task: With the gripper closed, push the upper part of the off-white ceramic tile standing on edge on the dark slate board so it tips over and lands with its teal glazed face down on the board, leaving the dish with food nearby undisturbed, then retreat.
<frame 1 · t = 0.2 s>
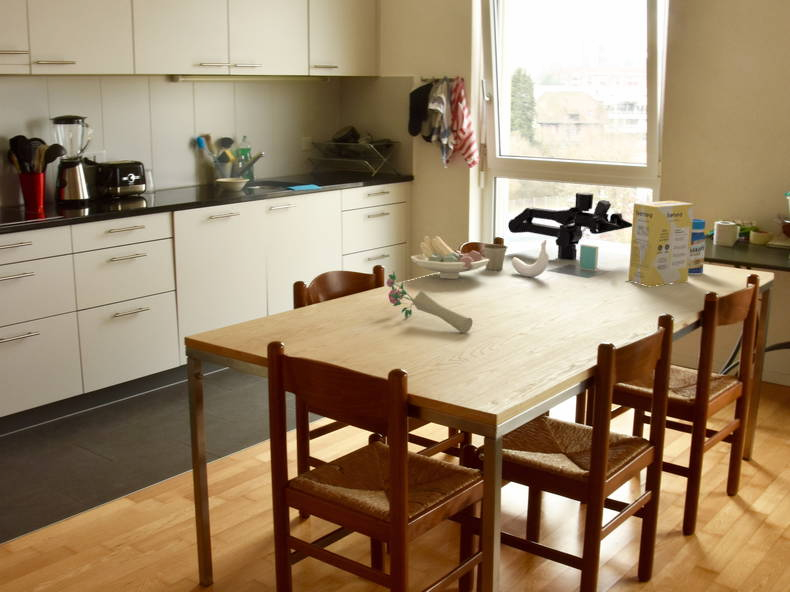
hand: (625, 226, 331), 16 cm above the table, tool horizontal, fingers open, 9 cm apart
beverage bottle: (691, 273, 329), on the table
flower pot: (494, 269, 335), on the table
pasta box: (657, 282, 315), on the table
banana: (528, 276, 322), on the table
tile: (588, 269, 330), point 1 cm above the table, touching slate board
flower vase: (424, 322, 260), on the table
dish with food: (449, 278, 319), on the table
slate board: (578, 273, 328), on the table
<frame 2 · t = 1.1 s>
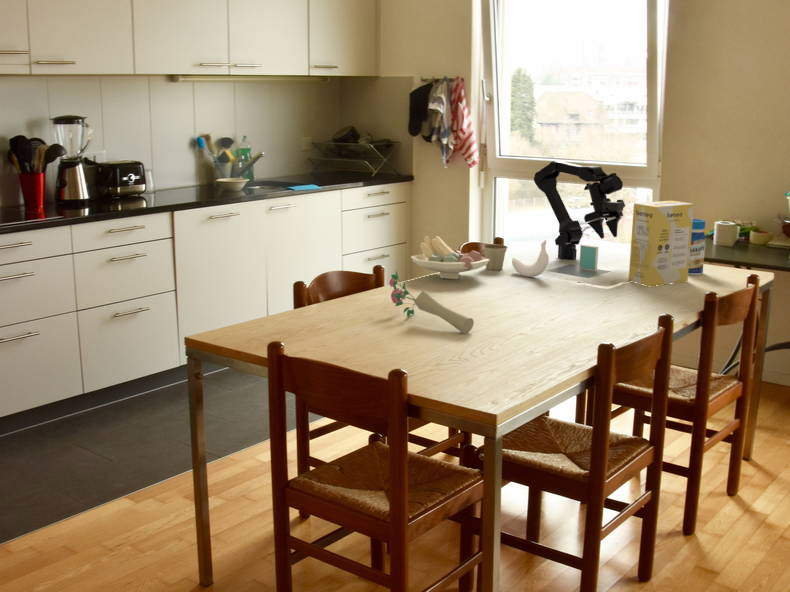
hand: (609, 237, 333), 12 cm above the table, tool tilted 25°, fingers open, 9 cm apart
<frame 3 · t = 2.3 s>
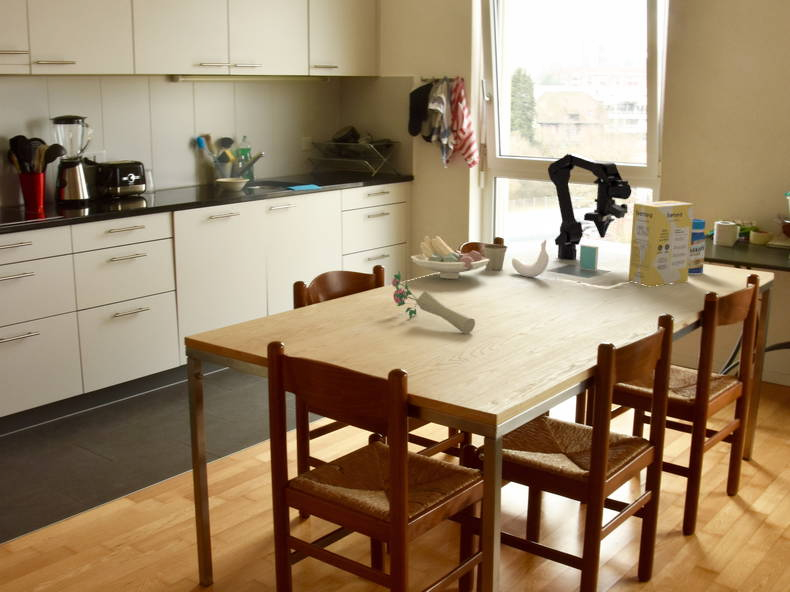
hand: (602, 237, 334), 12 cm above the table, tool pointing down, fingers closed
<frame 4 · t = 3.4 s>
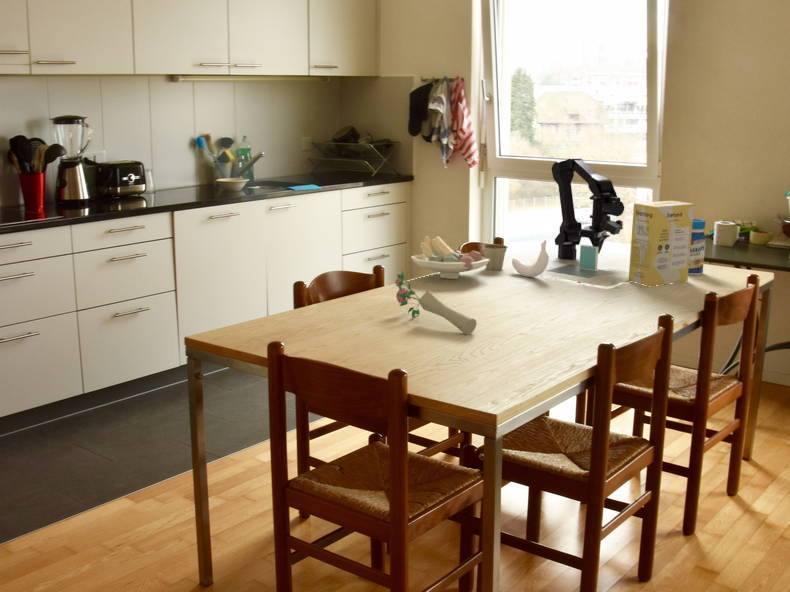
hand: (597, 253, 334), 6 cm above the table, tool pointing down, fingers closed
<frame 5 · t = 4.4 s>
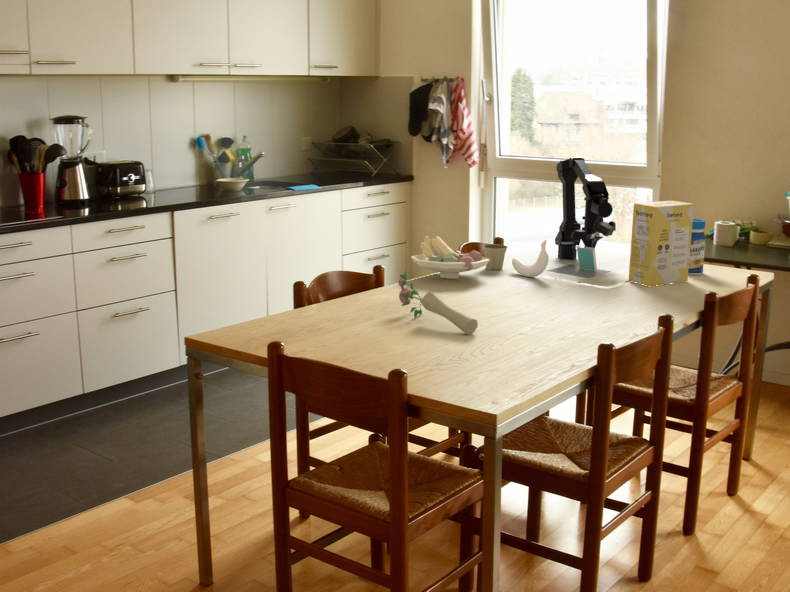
hand: (590, 255, 330), 6 cm above the table, tool pointing down, fingers closed
tile: (588, 269, 330), point 1 cm above the table, tilted 16°, touching slate board
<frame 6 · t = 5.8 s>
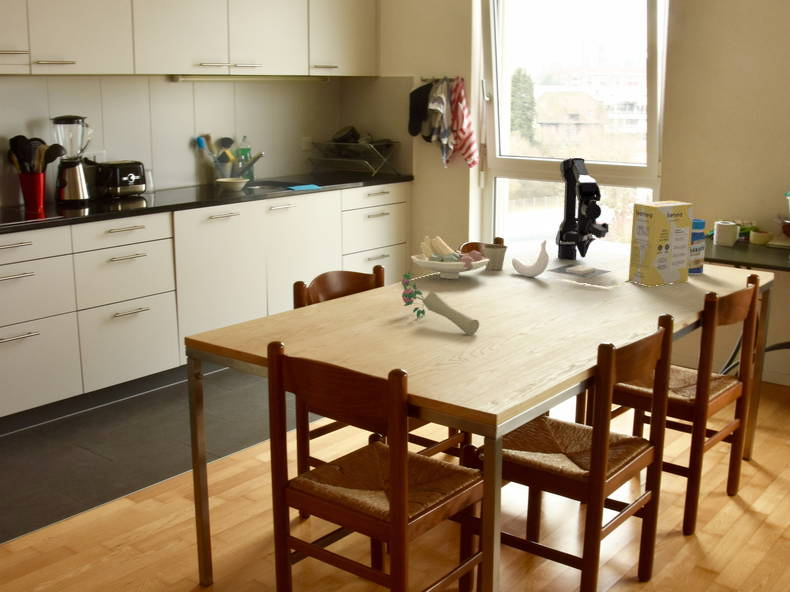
hand: (583, 257, 326), 6 cm above the table, tool pointing down, fingers closed
tile: (587, 268, 330), point 1 cm above the table, tilted 90°, touching slate board
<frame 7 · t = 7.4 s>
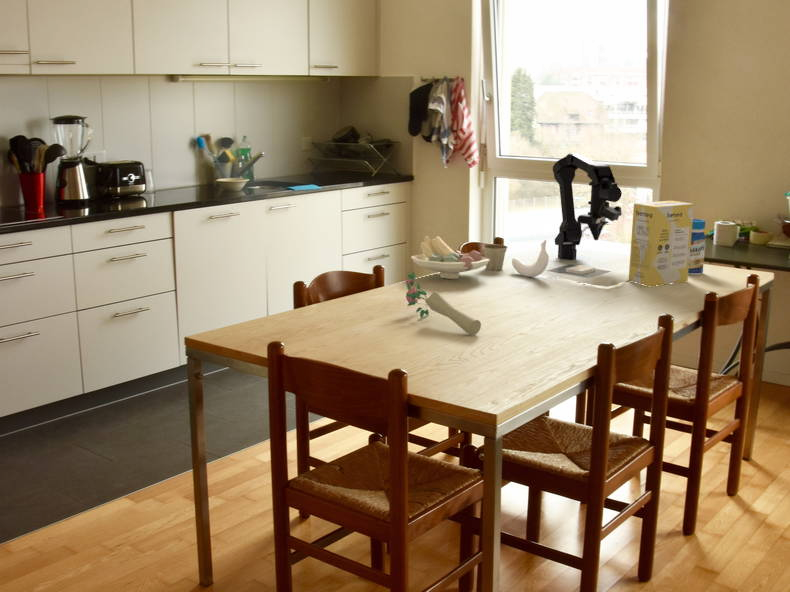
hand: (596, 240, 331), 11 cm above the table, tool pointing down, fingers closed
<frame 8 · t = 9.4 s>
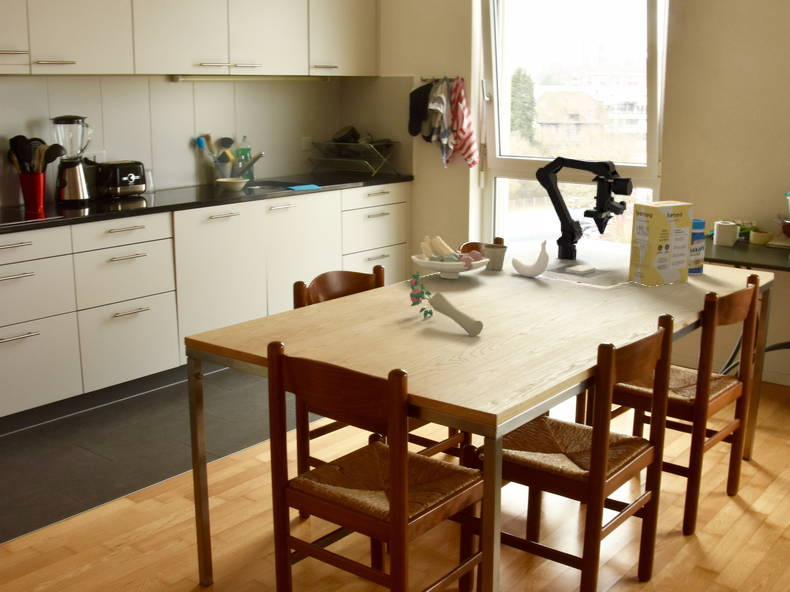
hand: (601, 234, 341), 12 cm above the table, tool pointing down, fingers closed
at the end: tile tilted 90°; tile inside the target area (5.3 cm from its centre), point 1.4 cm above the table; dish with food moved 0.3 cm from its start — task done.
